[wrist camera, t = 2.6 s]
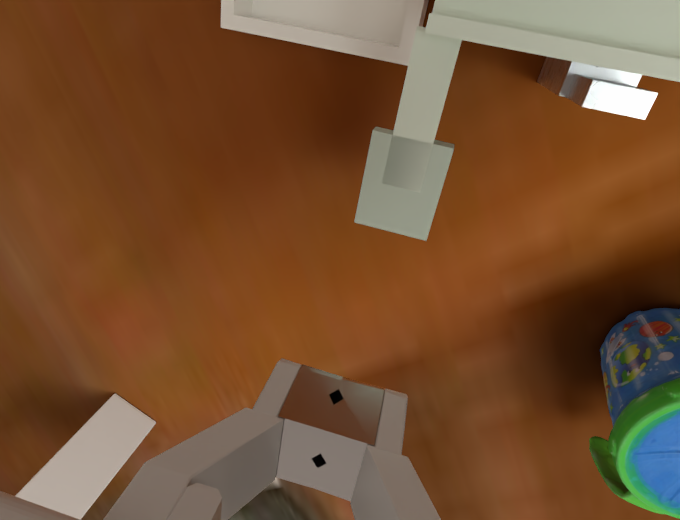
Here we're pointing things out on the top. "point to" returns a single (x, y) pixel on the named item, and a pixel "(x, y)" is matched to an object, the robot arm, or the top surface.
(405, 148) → the lever
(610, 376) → the snack cup
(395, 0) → the white flat rimmed tray
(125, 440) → the milk
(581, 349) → the top surface
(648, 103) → the stand
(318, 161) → the top surface
